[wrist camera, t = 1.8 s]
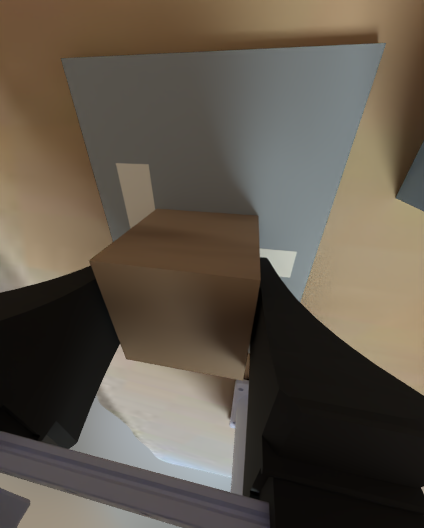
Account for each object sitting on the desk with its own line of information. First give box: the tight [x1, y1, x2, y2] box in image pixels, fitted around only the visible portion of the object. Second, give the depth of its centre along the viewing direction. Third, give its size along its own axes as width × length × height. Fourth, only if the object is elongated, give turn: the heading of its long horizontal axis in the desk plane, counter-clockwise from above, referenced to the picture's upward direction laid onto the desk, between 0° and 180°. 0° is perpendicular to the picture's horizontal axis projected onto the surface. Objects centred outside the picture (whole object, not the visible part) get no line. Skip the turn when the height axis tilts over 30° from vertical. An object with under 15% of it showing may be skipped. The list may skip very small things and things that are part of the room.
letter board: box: [61, 43, 386, 353], centre depth 11 cm, size 16×11×1 cm
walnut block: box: [89, 209, 261, 381], centre depth 9 cm, size 5×5×5 cm
